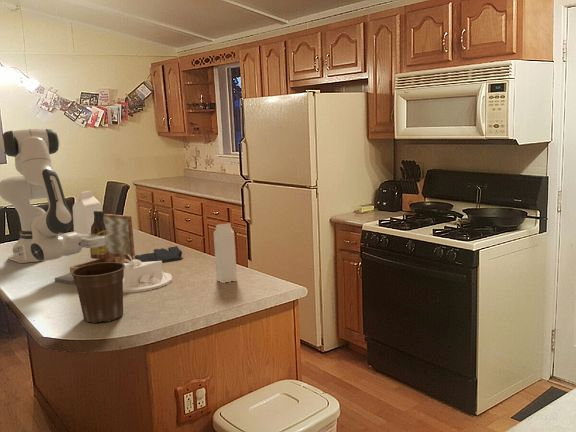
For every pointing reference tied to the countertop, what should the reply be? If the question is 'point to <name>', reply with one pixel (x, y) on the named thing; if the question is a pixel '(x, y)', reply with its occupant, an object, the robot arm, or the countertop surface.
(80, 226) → the milk
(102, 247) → the sauce bottle
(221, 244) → the milk
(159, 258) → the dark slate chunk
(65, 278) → the slate tile
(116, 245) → the cedar box
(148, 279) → the dish
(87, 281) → the plant pot
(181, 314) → the countertop surface
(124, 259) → the brown rounded block
